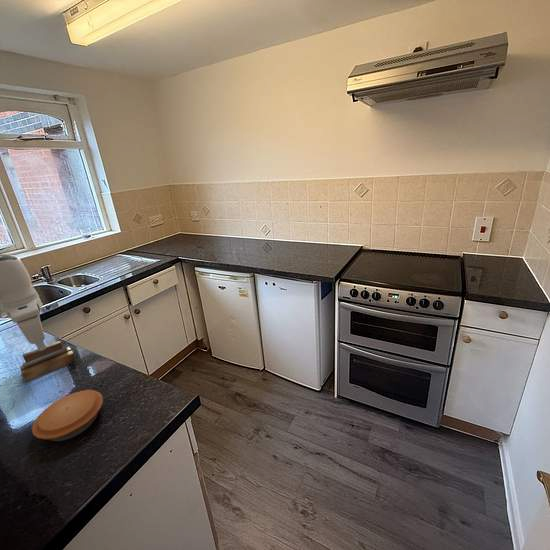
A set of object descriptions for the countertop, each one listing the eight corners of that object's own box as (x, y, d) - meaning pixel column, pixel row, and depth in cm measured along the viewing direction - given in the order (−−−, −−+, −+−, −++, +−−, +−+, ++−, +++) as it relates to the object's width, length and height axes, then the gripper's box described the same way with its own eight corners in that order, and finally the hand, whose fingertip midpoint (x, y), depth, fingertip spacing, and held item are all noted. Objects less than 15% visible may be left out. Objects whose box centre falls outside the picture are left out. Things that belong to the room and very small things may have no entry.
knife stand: (27, 386, 93) (21, 374, 92) (25, 377, 98) (20, 366, 96) (77, 364, 102) (73, 353, 100) (74, 357, 106) (69, 346, 105)
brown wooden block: (28, 377, 95) (19, 358, 92) (28, 375, 96) (18, 356, 94) (71, 359, 102) (63, 341, 100) (70, 357, 103) (63, 339, 101)
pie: (22, 441, 73) (14, 426, 72) (80, 395, 87) (74, 382, 85) (65, 457, 68) (57, 441, 66) (119, 406, 81) (114, 391, 80)
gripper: (9, 300, 97) (26, 336, 102) (11, 320, 82) (31, 361, 87) (32, 293, 100) (48, 328, 105) (39, 311, 86) (57, 351, 91)
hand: (41, 343), depth 96 cm, fingers open, 8 cm apart
